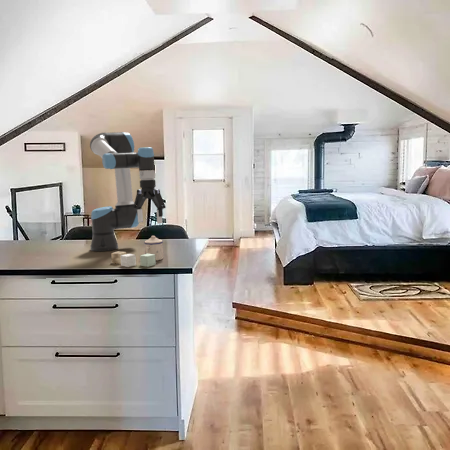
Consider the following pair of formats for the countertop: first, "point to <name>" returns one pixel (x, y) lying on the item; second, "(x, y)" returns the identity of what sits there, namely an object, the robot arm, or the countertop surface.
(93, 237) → the robot arm
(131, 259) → the white painted cube
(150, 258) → the sage painted cube
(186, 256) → the countertop surface
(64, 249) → the countertop surface
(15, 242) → the countertop surface
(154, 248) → the teacup with lid
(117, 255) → the maple cube
